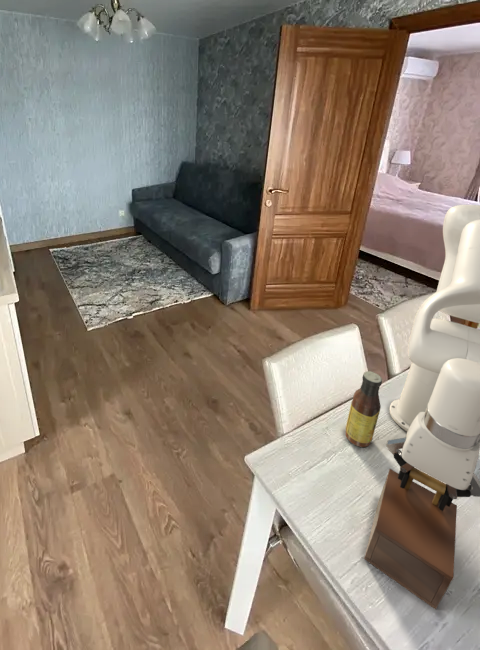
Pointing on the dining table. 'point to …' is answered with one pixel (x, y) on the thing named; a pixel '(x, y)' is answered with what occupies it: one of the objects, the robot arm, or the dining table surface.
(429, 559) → the box lid
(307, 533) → the dining table surface
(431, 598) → the storage box
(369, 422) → the sauce bottle
